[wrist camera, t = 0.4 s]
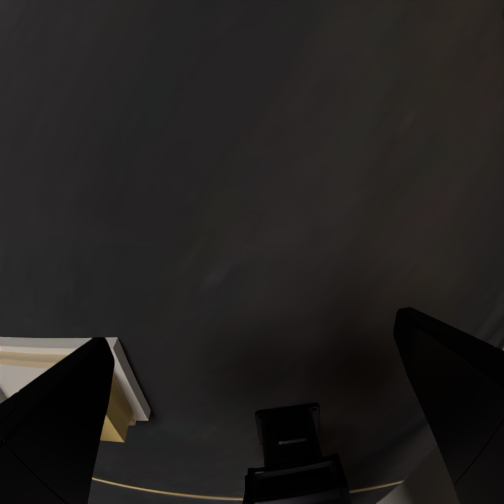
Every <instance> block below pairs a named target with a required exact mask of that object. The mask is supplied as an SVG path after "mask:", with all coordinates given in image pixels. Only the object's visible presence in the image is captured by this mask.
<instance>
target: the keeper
mask: <svg viewBox="0 0 504 504" xmlns="http://www.w3.org/2000/svg"><path fill="white" fill-rule="evenodd" d="M131 414H132V409H131V407H130V405H129V403H128V401H127V399H126V398H125V396H124V394H123V392H122V390H121V388H120V386H119V384H118V382H117V380H116V378H115V376H114V374H113V379H112V386H111V393H110V399H109V405H108V409H107V413H106V417H105V421H104V425H103V430H102V434H101V438H100V440H106V441H117V442H124V441H125V437H126V433H127V429H128V425H129V421H130V417H131Z"/></svg>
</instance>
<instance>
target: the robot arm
mask: <svg viewBox="0 0 504 504" xmlns="http://www.w3.org/2000/svg"><path fill="white" fill-rule="evenodd" d="M393 333H394V339H395V342H396V344H397V347H398V350H399V353H400V356H401V359H402V362H403V365H404V367H405V370H406V373H407V376H408V378H409V380H410V383H411V385H412V387H413V389H414V391H415V394H416V396H417V398H418V400H419V402H420V405H421V407H422V409H423V411H424V414H425V416H426V418H427V421H428V423H429V425H430V428H431V430H432V432H433V435H434V437H435V440H436V442H437V444H438V447H439V449H440V452H441V454H442V457H443V459H444V462H445V465H446V467H447V470H448V472H449V475H450V478H451V480H452V483H453V485H454V489H455V492H456V495H457V498H458V500H459V503H460V504H504V351H503V350H501V349H499V348H497V347H496V348H495V347H494V346H493V345H491V344H488V343H486V342H484V341H482V340H480V339H478V338H476V337H474V336H471V335H469V334H467V333H465V332H463V331H461V330H459V329H456V328H454V327H452V326H450V325H448V324H446V323H444V322H441V321H439V320H437V319H435V318H433V317H431V316H428V315H426V314H424V313H422V312H420V311H418V310H415V309H413V308H411V307H407V308H401V309H399V310H398V311H397V314H396V319H395V325H394V332H393ZM114 367H115V359H114V356H113V353H112V351H111V348H110V346H109V343H108V341H107V339H106V338H104V337H94V338H92V339H90V340H89V341H87V342H86V343H85V344H83V345H82V346H80V347H79V348H77V349H76V350H75V351H73V352H72V353H70V354H69V355H68V356H66V357H65V358H63V359H62V360H61V361H59V362H58V363H56V364H55V365H53V366H52V367H51V368H49V369H48V370H46V371H45V372H44V373H42V374H41V375H39V376H38V377H37V378H35V379H34V380H33V381H31V382H30V383H28V384H27V385H26V386H24V387H23V388H21V389H20V390H19V391H18V392H16V393H14V394H13V395H12V396H10V397H9V398H8V399H6V400H5V401H3V402H2V403H0V504H87V503H88V497H89V492H90V486H91V481H92V476H93V471H94V466H95V461H96V456H97V452H98V447H99V443H100V438H101V434H102V430H103V425H104V421H105V417H106V413H107V409H108V405H109V399H110V393H111V386H112V379H113V373H114ZM255 418H256V424H257V430H258V436H259V441H260V445H263V454H264V466H265V467H262V468H248V475H246V476H245V494H244V499H243V503H242V504H351V499H350V492H349V488H348V483H347V480H346V477H345V474H344V471H343V468H342V465H341V462H340V459H339V456H338V453H335V454H332V455H330V456H325V457H322V454H321V449H320V445H319V440H318V436H317V431H318V418H319V406H318V404H309V405H303V406H296V407H288V408H281V409H272V410H263V411H257V412H256V413H255Z"/></svg>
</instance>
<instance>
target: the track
mask: <svg viewBox="0 0 504 504" xmlns="http://www.w3.org/2000/svg"><path fill="white" fill-rule="evenodd" d="M90 339H92V338H12V337H0V403H2V402H3V401H5V400H6V399H8V398H9V397H10V396H12V395H13V394H14V393H16V392H18V391H19V390H20V389H21V388H23V387H24V386H26V385H27V384H28V383H30V382H31V381H33V380H34V379H35V378H37V377H38V376H39V375H41V374H42V373H44V372H45V371H46V370H48V369H49V368H51V367H52V366H53V365H55V364H56V363H58V362H59V361H61V360H62V359H63V358H65V357H66V356H68V355H69V354H70V353H72V352H73V351H75V350H76V349H77V348H79V347H80V346H82V345H83V344H85V343H86V342H87V341H89V340H90ZM106 339H107V341H108V343H109V346H110V348H111V351H112V353H113V356H114V359H115V367H114V373H113V374H114V376H115V378H116V380H117V382H118V384H119V386H120V388H121V390H122V392H123V394H124V396H125V398H126V399H127V401H128V403H129V405H130V407H131V409H132V414H131V417H130V421H129V425H135V423H136V420H139V421H148V420H149V415H150V411H151V410H150V408H149V406H148V404H147V402H146V400H145V397H144V395H143V393H142V391H141V389H140V387H139V385H138V383H137V381H136V379H135V376H134V374H133V372H132V370H131V367H130V365H129V363H128V361H127V358H126V356H125V354H124V351H123V349H122V347H121V344H120V342H119V339H118V337H113V338H106Z"/></svg>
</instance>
